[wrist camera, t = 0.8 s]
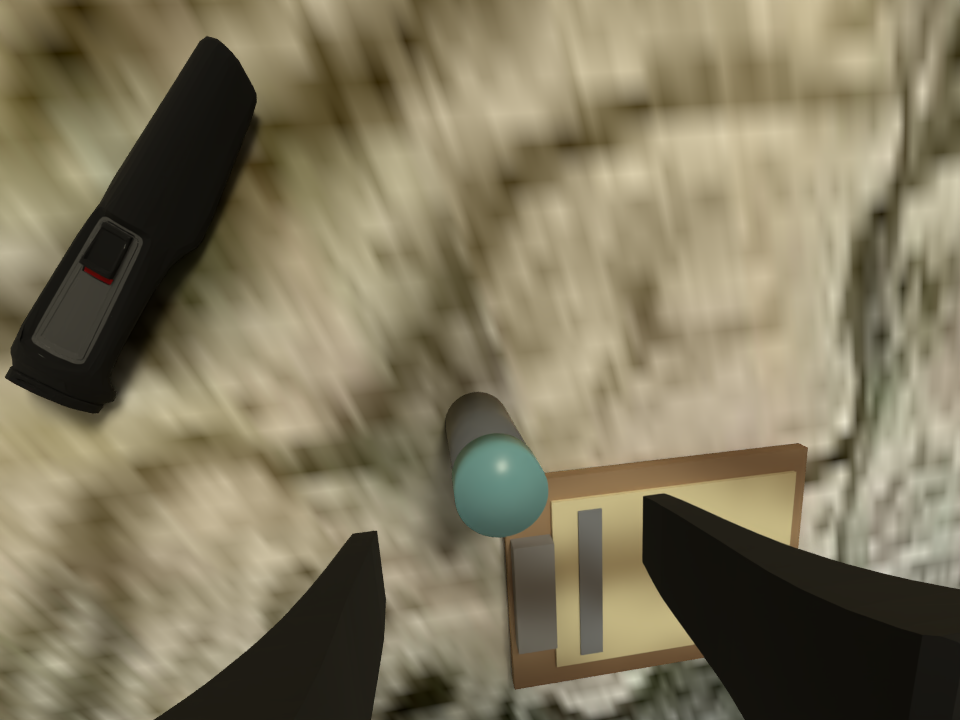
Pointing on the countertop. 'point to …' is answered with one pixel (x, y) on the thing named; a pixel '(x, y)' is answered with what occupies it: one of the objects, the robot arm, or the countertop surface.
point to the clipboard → (628, 558)
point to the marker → (492, 468)
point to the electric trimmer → (136, 233)
